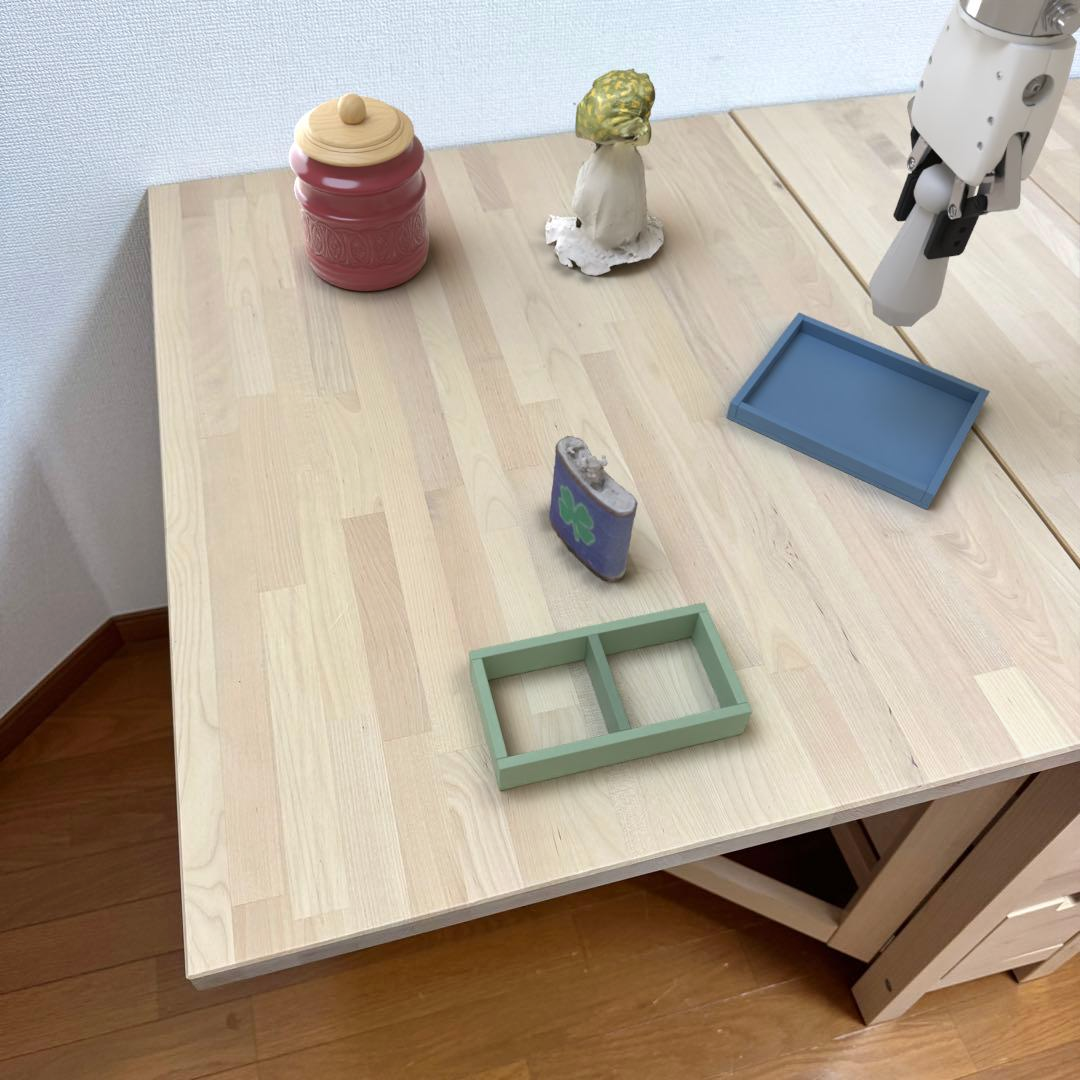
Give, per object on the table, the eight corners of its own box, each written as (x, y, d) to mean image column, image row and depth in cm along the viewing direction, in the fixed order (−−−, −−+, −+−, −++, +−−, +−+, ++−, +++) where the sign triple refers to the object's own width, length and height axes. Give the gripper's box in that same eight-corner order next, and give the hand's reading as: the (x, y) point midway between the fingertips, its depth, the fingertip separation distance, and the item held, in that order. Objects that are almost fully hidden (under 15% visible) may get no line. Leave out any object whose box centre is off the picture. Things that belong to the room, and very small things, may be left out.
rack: (697, 626, 79) (704, 601, 76) (742, 734, 73) (752, 711, 71) (469, 674, 76) (468, 650, 73) (499, 791, 70) (499, 769, 67)
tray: (981, 406, 95) (990, 390, 94) (927, 510, 87) (934, 495, 86) (793, 327, 101) (798, 312, 100) (725, 417, 93) (730, 402, 92)
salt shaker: (937, 336, 83) (999, 198, 73) (868, 333, 83) (921, 195, 73) (921, 291, 87) (979, 154, 76) (856, 288, 87) (905, 151, 76)
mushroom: (686, 249, 109) (717, 85, 94) (596, 292, 104) (614, 126, 89) (615, 196, 114) (634, 34, 100) (526, 235, 109) (533, 70, 95)
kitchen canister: (432, 219, 110) (423, 61, 96) (427, 295, 102) (417, 135, 88) (313, 218, 110) (287, 58, 96) (299, 293, 102) (269, 132, 88)
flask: (631, 574, 82) (647, 489, 73) (602, 590, 81) (615, 505, 72) (566, 501, 86) (574, 413, 78) (538, 515, 85) (543, 427, 77)
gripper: (1153, 53, 60) (1025, 296, 75) (1005, -64, 70) (918, 171, 84) (1044, 64, 59) (935, 310, 73) (909, -56, 69) (837, 182, 83)
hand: (927, 234), depth 79 cm, fingers closed on salt shaker, 4 cm apart
